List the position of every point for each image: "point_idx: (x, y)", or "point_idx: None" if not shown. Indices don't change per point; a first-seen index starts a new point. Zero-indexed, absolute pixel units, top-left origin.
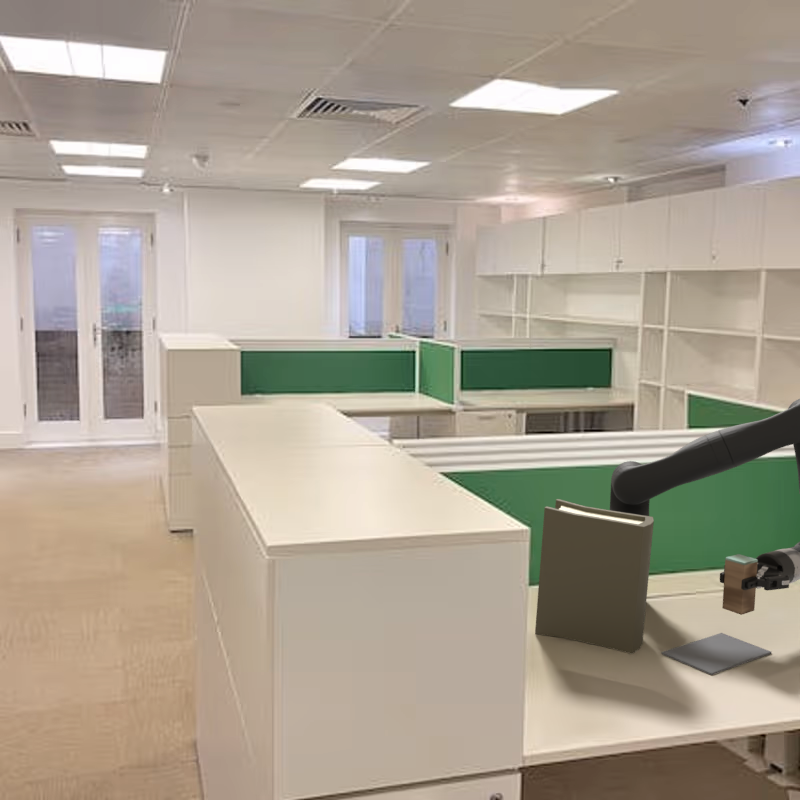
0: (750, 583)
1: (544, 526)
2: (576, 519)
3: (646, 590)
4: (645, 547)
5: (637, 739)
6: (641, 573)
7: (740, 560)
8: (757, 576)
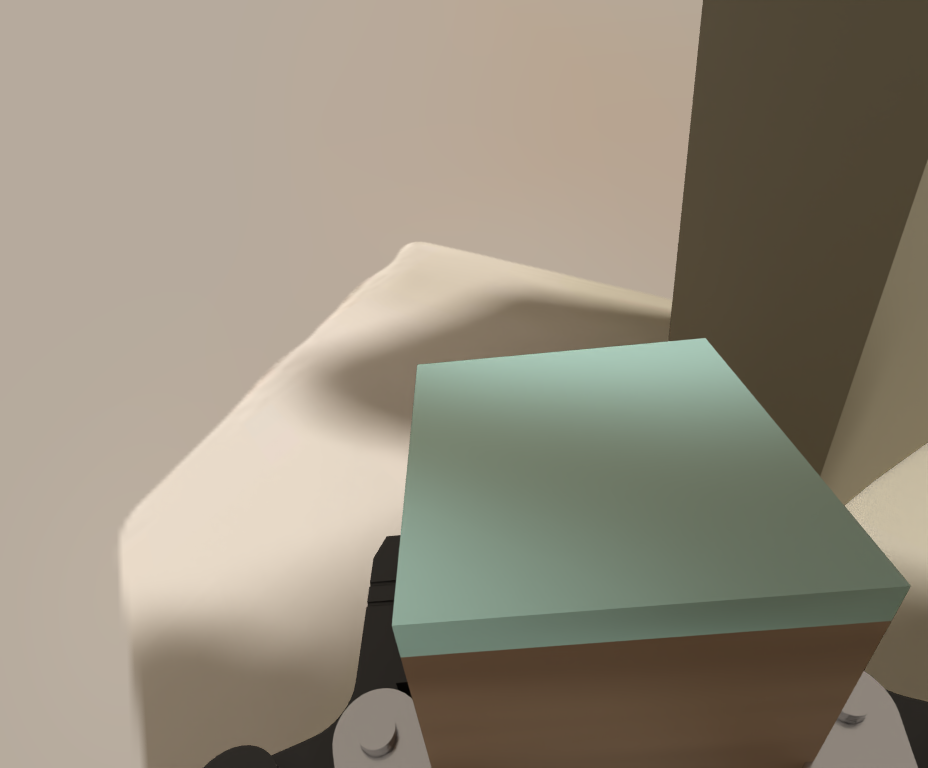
0: (376, 562)
1: None
2: None
3: (756, 309)
4: (727, 37)
5: (344, 302)
6: (698, 177)
7: (518, 384)
8: (382, 717)
